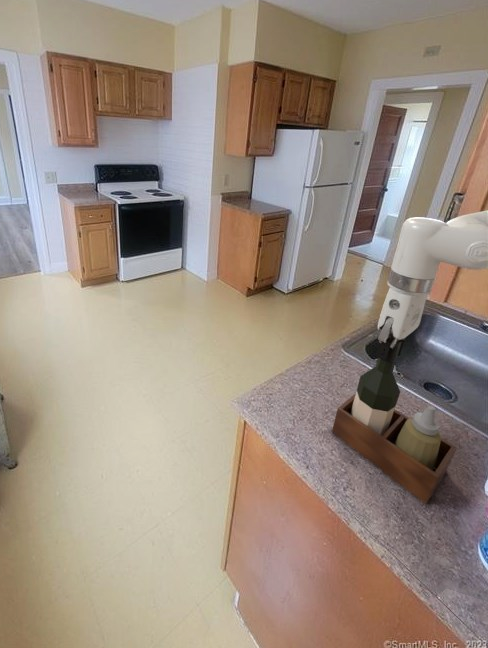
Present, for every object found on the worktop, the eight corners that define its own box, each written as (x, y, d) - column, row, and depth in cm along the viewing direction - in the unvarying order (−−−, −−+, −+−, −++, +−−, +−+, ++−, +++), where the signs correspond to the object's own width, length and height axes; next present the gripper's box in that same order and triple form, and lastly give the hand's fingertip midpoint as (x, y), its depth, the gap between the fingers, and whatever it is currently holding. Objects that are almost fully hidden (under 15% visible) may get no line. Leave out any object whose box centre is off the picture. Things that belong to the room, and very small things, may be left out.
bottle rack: (445, 472, 72) (457, 447, 69) (426, 504, 65) (437, 477, 62) (354, 411, 87) (360, 388, 84) (331, 432, 81) (337, 408, 78)
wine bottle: (390, 448, 77) (426, 345, 66) (359, 453, 76) (390, 348, 64) (368, 420, 85) (397, 323, 73) (339, 424, 83) (364, 325, 72)
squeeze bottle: (438, 486, 69) (466, 424, 62) (400, 485, 69) (424, 423, 62) (415, 452, 76) (438, 393, 70) (381, 451, 76) (401, 392, 70)
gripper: (413, 299, 56) (387, 381, 63) (446, 277, 66) (421, 351, 73) (371, 284, 62) (352, 361, 69) (407, 266, 71) (387, 335, 78)
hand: (387, 355), depth 71 cm, fingers closed on wine bottle, 3 cm apart
